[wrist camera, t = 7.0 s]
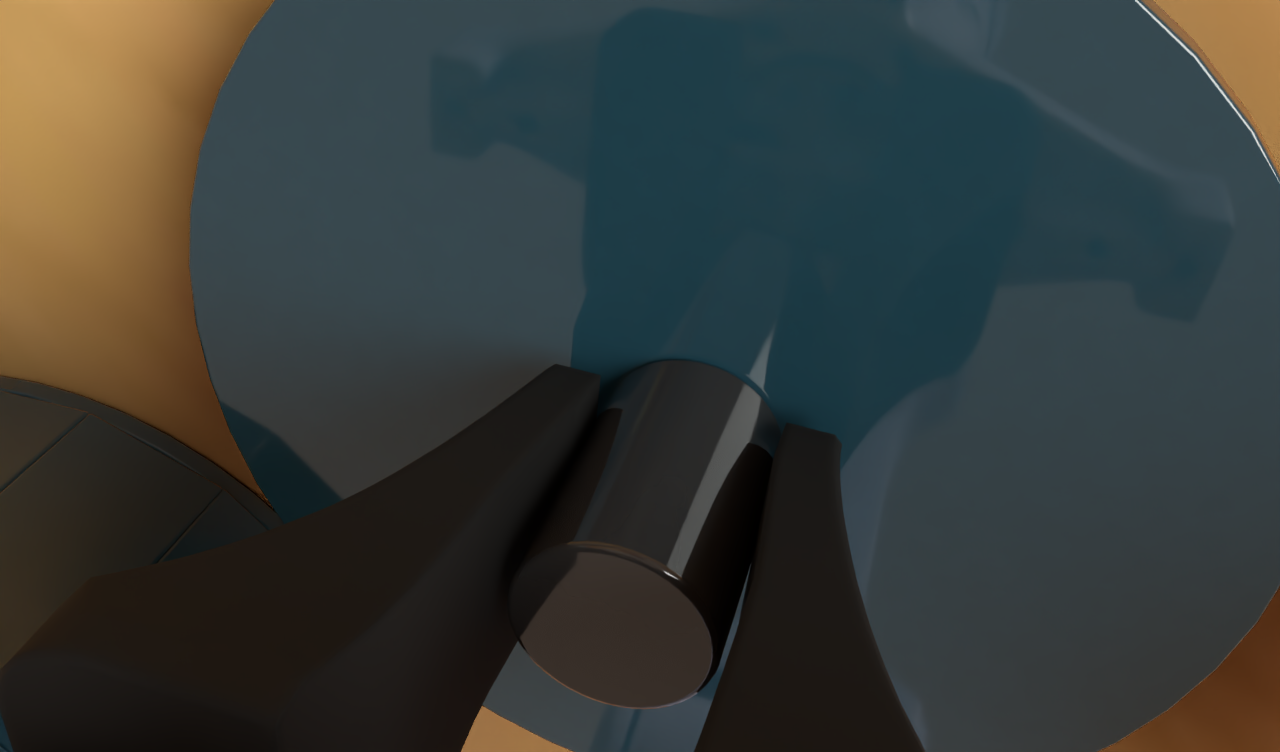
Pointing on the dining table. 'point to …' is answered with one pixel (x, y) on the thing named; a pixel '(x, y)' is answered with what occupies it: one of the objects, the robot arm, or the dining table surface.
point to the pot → (98, 503)
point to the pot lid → (778, 328)
